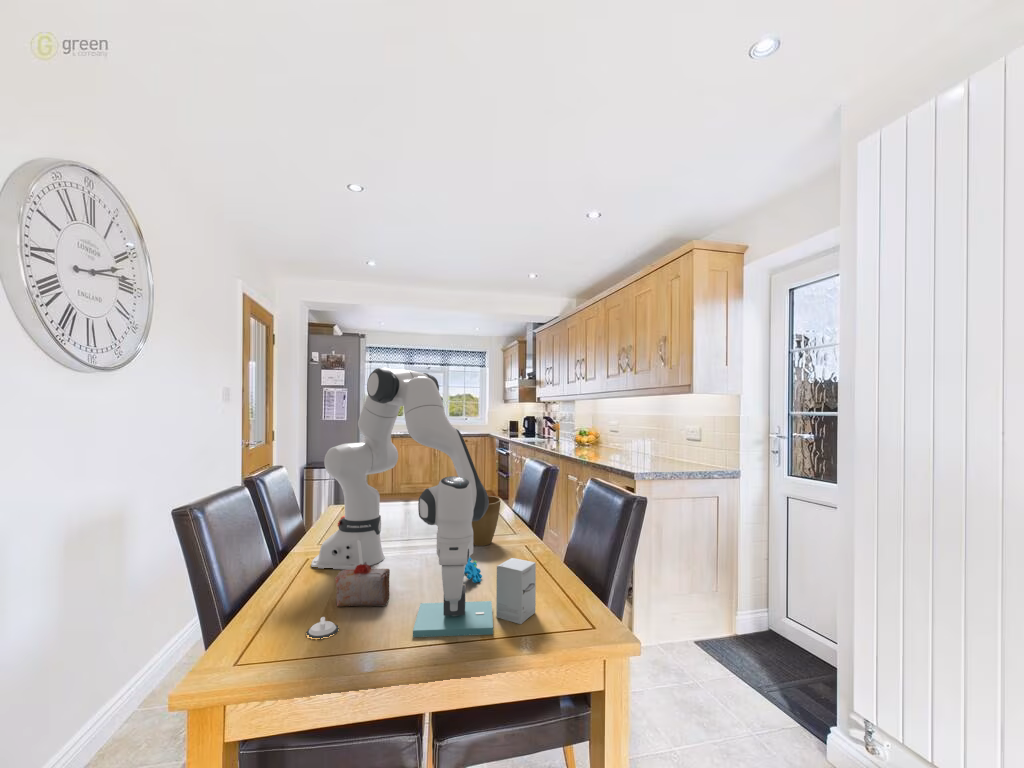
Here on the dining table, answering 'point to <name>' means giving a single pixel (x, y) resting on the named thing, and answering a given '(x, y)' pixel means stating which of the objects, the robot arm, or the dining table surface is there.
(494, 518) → the plant pot
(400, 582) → the dining table surface
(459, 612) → the grey marked cube
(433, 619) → the control panel
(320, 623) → the stove knob
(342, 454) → the robot arm
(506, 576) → the supplement box
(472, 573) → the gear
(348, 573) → the food item
